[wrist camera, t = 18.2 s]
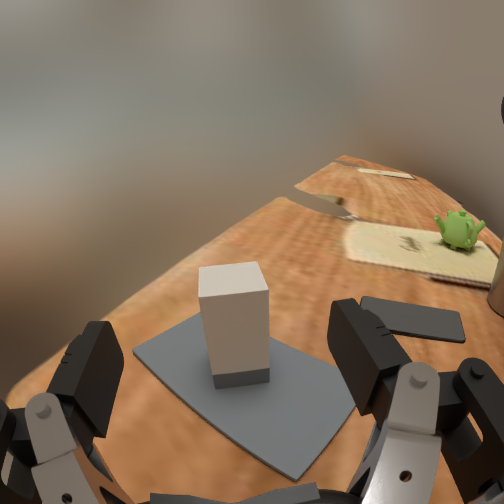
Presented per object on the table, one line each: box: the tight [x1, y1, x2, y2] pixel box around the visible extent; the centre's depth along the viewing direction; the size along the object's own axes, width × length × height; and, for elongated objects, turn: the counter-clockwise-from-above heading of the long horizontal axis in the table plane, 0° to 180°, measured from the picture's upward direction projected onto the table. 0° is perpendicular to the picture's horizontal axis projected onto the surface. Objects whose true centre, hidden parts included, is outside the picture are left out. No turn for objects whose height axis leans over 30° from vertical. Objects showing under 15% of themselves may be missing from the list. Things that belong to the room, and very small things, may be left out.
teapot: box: [434, 210, 486, 251], centre depth 51 cm, size 11×12×8 cm
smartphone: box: [360, 296, 466, 343], centre depth 31 cm, size 7×1×15 cm
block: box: [198, 261, 270, 389], centre depth 24 cm, size 5×5×10 cm
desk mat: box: [132, 312, 356, 482], centre depth 26 cm, size 22×12×1 cm, turn 48°
